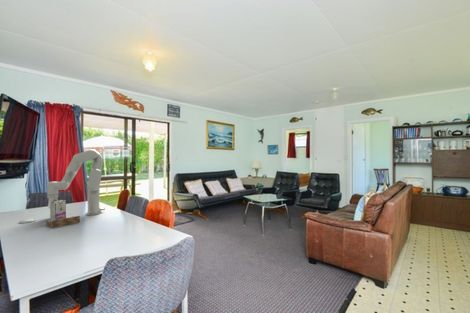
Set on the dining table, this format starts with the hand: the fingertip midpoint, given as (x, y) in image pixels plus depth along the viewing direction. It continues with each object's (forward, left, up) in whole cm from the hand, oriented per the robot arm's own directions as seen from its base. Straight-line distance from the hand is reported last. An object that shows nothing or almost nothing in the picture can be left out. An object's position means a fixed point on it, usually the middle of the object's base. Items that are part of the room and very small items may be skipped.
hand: (52, 216), depth 199 cm
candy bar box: (0, +14, -1) cm, 14 cm away
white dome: (+16, -3, -1) cm, 16 cm away
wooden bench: (0, +26, -1) cm, 26 cm away
